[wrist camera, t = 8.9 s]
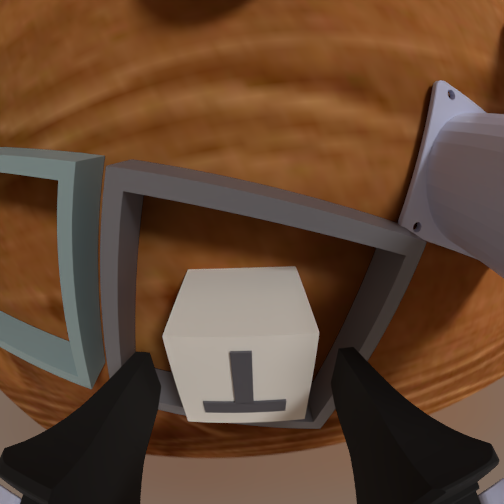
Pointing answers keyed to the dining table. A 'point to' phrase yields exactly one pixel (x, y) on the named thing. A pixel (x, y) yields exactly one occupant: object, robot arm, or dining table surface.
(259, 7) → the dining table surface
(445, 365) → the dining table surface
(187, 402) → the letter cube
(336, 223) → the tray charcoal
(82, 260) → the teal square frame
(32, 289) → the dining table surface
